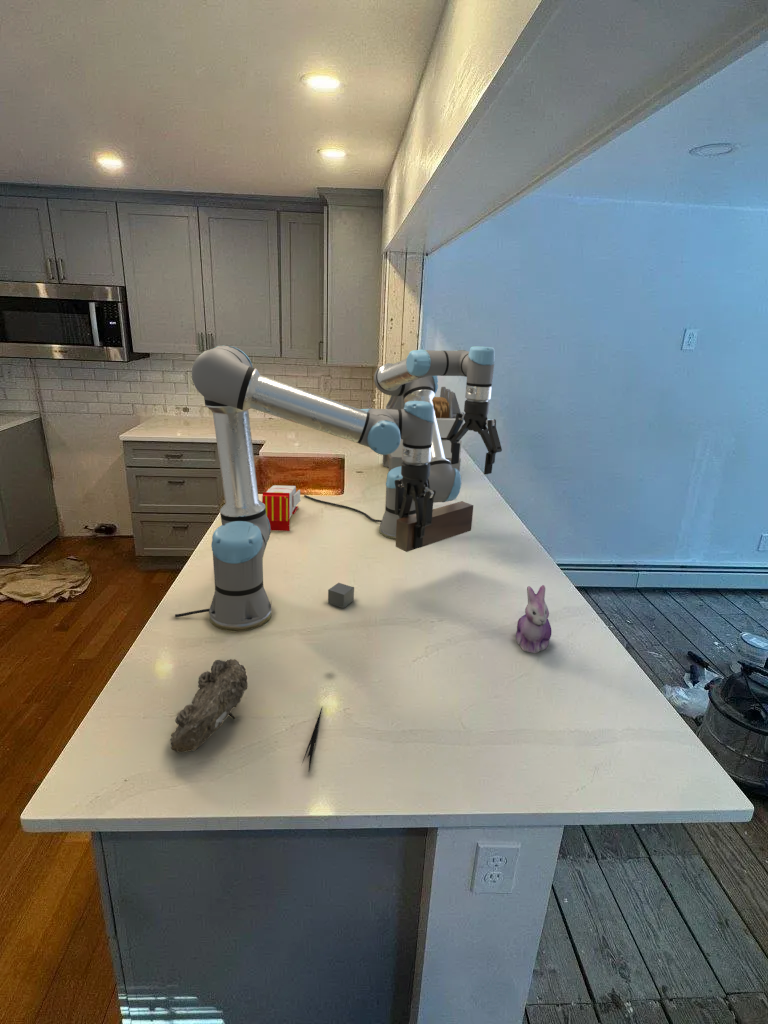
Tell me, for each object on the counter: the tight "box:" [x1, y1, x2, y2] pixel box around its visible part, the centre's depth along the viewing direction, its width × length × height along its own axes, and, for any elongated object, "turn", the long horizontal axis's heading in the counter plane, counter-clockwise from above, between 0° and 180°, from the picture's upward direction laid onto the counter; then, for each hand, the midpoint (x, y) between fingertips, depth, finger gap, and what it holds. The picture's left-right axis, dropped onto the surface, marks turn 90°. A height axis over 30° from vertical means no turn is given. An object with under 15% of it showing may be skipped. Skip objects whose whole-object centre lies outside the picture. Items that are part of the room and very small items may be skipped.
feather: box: [301, 673, 332, 771], centre depth 108 cm, size 2×28×2 cm
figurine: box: [515, 584, 552, 654], centre depth 134 cm, size 9×10×15 cm
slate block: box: [327, 582, 355, 609], centre depth 152 cm, size 5×5×4 cm
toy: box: [261, 484, 301, 532], centre depth 208 cm, size 12×13×30 cm
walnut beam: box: [395, 500, 474, 553], centre depth 160 cm, size 4×26×8 cm, turn 131°
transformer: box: [381, 386, 465, 472], centre depth 268 cm, size 34×33×41 cm
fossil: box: [170, 658, 249, 753], centre depth 106 cm, size 22×10×15 cm
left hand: (411, 544), depth 155 cm, fingers closed on walnut beam, 4 cm apart
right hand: (470, 468), depth 177 cm, fingers open, 13 cm apart
